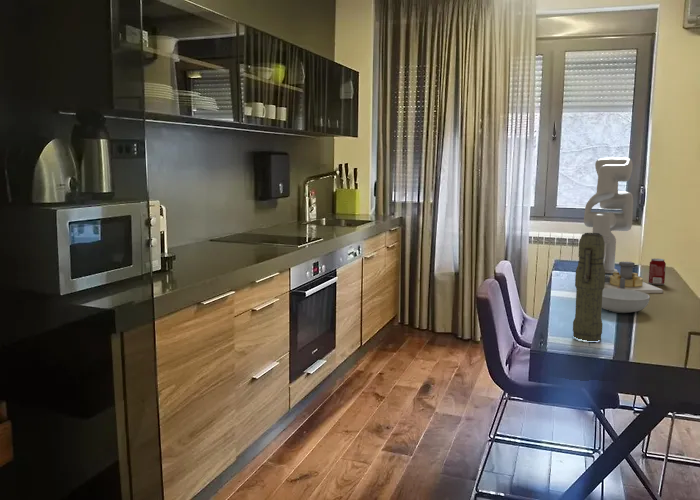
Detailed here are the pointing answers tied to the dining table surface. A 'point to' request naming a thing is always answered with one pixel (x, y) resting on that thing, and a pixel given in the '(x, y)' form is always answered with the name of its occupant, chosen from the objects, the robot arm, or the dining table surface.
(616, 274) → the tan ring with handle
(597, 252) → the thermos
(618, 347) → the dining table surface
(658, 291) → the hub plate
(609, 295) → the serving bowl
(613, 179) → the robot arm
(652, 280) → the soda can
